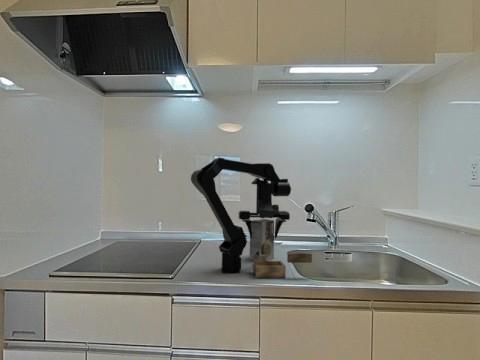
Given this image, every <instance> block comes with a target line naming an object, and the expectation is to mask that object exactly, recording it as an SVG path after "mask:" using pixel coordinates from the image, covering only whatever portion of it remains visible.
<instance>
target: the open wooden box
mask: <svg viewBox="0 0 480 360" xmlns="http://www.w3.org/2000/svg"><path fill="white" fill-rule="evenodd" d="M252 262H253V263H252V264H253V266H252V268H253V270H252V272H253V274H254V276H255V277H254V278H255V279H286V277H287V276H286V273H287V272H286V267H287V266H286V265H285V263H283V261H282V260H266V261H254V260H252Z"/></svg>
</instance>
